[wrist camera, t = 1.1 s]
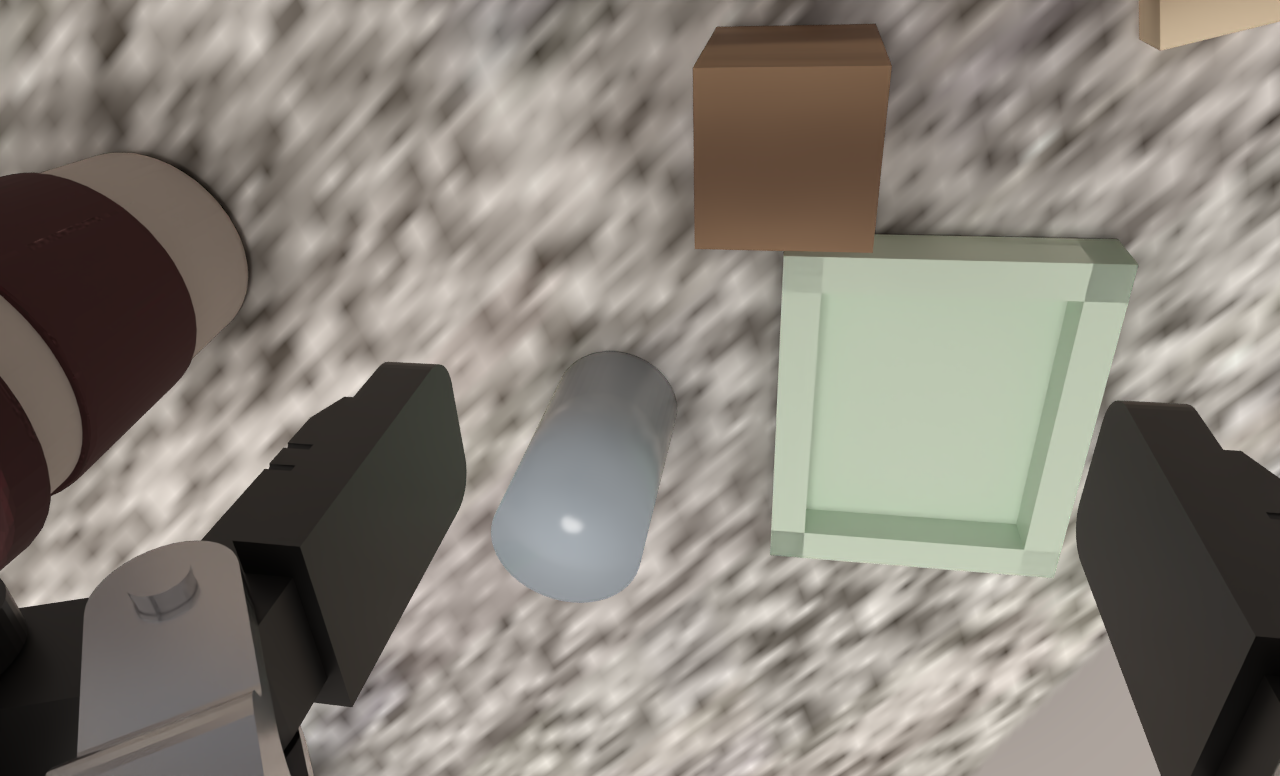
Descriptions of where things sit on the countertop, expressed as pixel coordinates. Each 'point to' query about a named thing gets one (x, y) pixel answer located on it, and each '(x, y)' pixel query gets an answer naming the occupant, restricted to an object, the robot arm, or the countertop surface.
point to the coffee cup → (99, 314)
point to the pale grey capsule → (588, 481)
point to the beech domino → (1200, 19)
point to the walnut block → (789, 137)
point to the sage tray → (942, 398)
